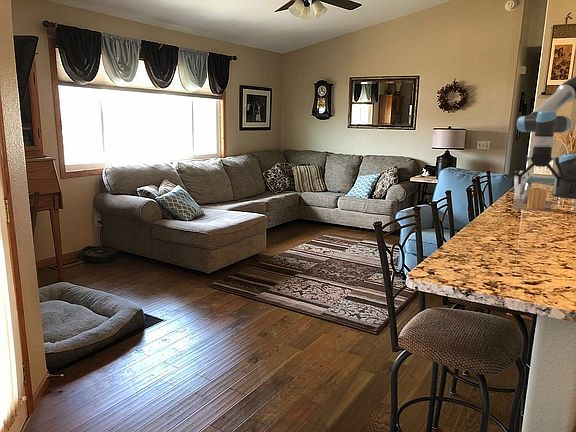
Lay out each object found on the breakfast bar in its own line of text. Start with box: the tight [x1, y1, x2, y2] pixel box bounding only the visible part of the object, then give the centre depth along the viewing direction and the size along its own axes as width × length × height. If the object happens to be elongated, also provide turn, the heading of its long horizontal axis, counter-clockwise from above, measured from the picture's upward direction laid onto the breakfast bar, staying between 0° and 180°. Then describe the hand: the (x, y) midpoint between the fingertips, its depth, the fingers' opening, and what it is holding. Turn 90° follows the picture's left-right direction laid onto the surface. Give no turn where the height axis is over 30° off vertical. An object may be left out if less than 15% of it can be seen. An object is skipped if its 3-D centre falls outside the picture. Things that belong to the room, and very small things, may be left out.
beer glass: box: [513, 170, 530, 200], centre depth 240 cm, size 7×7×15 cm
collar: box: [527, 187, 548, 210], centre depth 211 cm, size 8×8×9 cm
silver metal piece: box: [523, 182, 533, 203], centre depth 227 cm, size 11×2×9 cm, turn 149°
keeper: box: [525, 175, 557, 184], centre depth 227 cm, size 14×3×2 cm, turn 59°
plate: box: [510, 199, 553, 213], centre depth 220 cm, size 30×16×2 cm, turn 149°
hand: (537, 192), depth 211 cm, fingers open, 13 cm apart
